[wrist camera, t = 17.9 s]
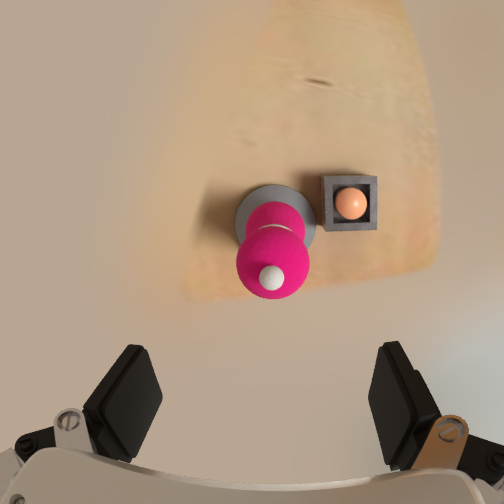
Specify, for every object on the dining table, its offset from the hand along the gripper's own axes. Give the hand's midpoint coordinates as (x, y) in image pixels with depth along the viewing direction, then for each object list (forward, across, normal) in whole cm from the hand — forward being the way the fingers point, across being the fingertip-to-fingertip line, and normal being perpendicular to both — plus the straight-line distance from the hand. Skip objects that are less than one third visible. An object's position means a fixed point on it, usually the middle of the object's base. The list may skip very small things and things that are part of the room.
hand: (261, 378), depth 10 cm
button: (+30, -10, -2) cm, 31 cm away
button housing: (+31, -10, -2) cm, 32 cm away
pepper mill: (+30, 0, 0) cm, 30 cm away
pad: (+31, 0, +1) cm, 31 cm away
